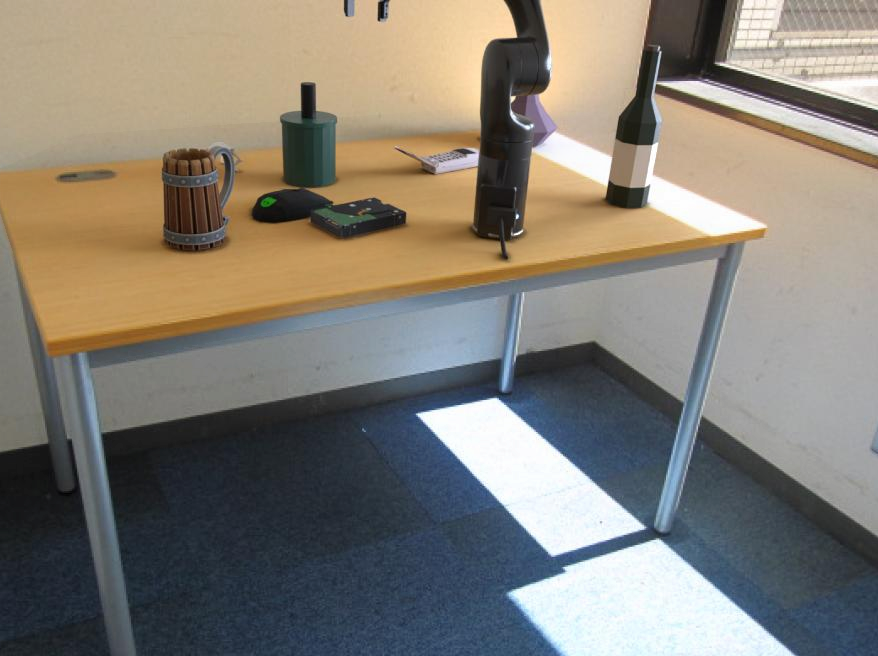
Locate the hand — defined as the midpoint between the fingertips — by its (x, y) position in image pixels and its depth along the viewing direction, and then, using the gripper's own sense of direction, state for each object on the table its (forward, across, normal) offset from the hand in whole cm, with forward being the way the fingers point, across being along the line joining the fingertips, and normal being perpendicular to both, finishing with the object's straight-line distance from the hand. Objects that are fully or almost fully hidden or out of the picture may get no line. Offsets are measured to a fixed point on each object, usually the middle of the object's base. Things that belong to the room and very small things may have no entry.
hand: (365, 18), depth 183 cm
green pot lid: (+18, -1, -17) cm, 25 cm away
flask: (+30, +17, +43) cm, 55 cm away
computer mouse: (+31, +9, -34) cm, 47 cm away
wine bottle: (+30, +56, +16) cm, 66 cm away
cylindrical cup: (+30, -1, -17) cm, 35 cm away
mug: (+31, +9, -55) cm, 64 cm away
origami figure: (+30, -19, -24) cm, 44 cm away
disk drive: (+31, +24, -32) cm, 50 cm away
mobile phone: (+30, +16, +10) cm, 35 cm away
